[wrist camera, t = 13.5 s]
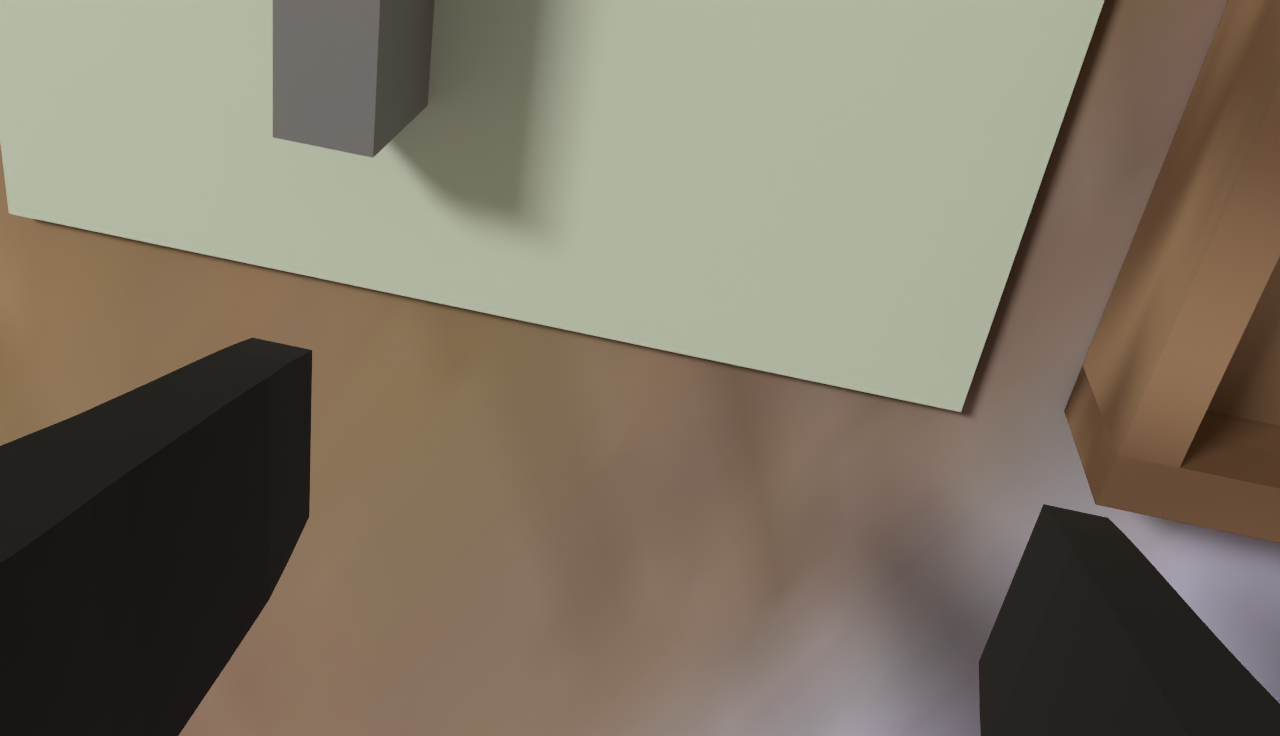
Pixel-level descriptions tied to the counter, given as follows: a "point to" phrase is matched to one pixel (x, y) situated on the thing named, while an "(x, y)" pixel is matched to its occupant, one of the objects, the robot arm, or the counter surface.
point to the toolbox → (1199, 310)
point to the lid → (575, 159)
